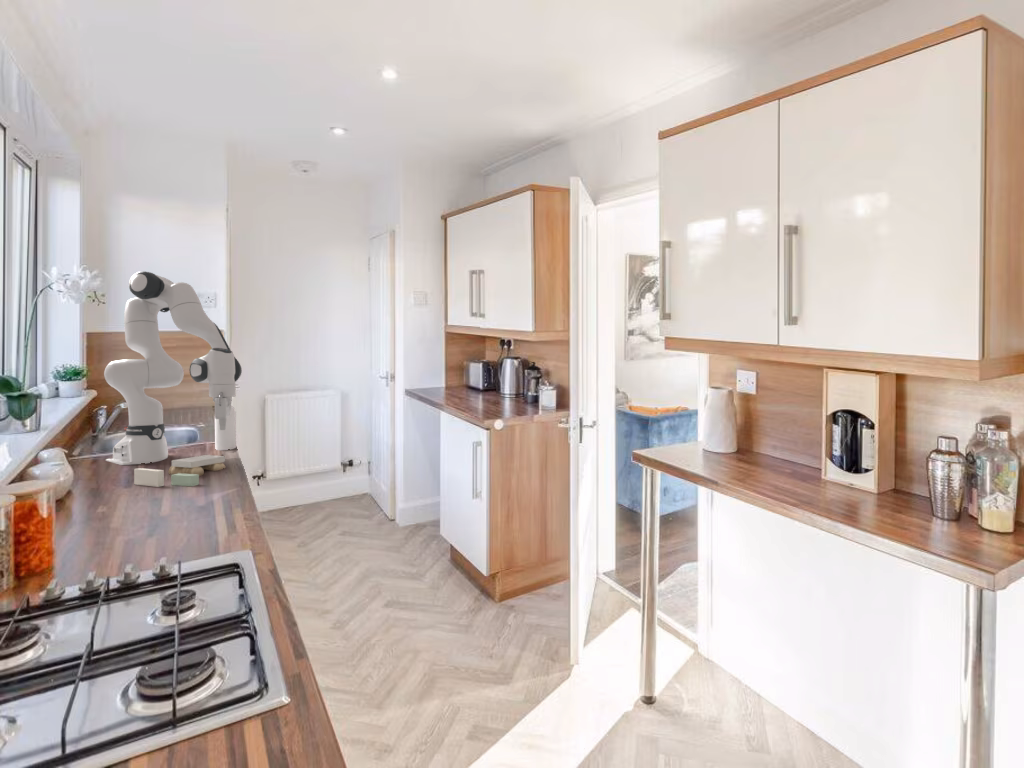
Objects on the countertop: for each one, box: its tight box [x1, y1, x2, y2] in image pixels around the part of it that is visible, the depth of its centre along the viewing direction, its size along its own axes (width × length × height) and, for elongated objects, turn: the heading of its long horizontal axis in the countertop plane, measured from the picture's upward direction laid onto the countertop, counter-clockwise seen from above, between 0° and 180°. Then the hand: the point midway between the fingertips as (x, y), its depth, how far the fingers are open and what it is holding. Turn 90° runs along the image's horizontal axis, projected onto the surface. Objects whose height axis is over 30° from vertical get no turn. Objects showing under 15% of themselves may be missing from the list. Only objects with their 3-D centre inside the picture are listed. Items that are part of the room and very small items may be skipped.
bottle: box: [214, 405, 237, 451], centre depth 239 cm, size 8×8×30 cm
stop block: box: [133, 467, 165, 488], centre depth 189 cm, size 11×2×5 cm, turn 68°
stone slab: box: [171, 454, 226, 468], centre depth 206 cm, size 9×14×2 cm, turn 159°
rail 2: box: [198, 462, 226, 472], centre depth 210 cm, size 12×4×4 cm, turn 68°
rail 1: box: [167, 465, 205, 477], centre depth 201 cm, size 12×4×4 cm, turn 68°
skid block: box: [170, 473, 200, 487], centre depth 189 cm, size 8×3×4 cm, turn 75°
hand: (222, 429), depth 215 cm, fingers closed
